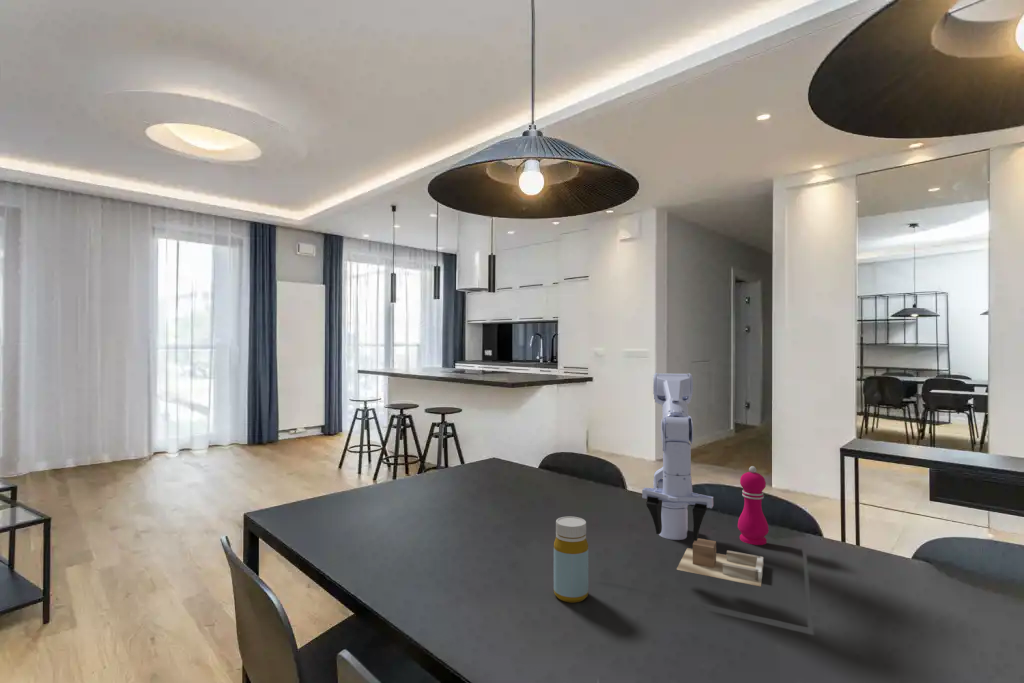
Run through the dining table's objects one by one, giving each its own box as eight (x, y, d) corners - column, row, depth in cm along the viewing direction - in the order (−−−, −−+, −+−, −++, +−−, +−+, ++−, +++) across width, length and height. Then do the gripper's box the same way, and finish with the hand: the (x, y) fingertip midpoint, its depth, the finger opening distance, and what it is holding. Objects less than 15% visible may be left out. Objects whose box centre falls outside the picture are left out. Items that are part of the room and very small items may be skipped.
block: (695, 556, 121) (695, 537, 121) (716, 560, 119) (716, 541, 119) (692, 563, 117) (692, 544, 117) (713, 568, 115) (713, 547, 115)
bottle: (584, 586, 108) (584, 515, 108) (591, 603, 101) (591, 527, 101) (551, 587, 107) (552, 515, 108) (555, 604, 100) (556, 527, 101)
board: (687, 551, 126) (687, 539, 126) (763, 566, 118) (763, 553, 118) (676, 573, 114) (676, 560, 114) (760, 591, 106) (760, 576, 106)
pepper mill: (772, 550, 127) (772, 470, 127) (741, 548, 129) (741, 468, 129) (764, 540, 134) (763, 463, 134) (734, 537, 136) (734, 462, 136)
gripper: (638, 472, 110) (638, 535, 110) (709, 481, 103) (709, 548, 103) (646, 465, 116) (646, 525, 116) (714, 473, 109) (714, 537, 109)
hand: (676, 535), depth 110 cm, fingers open, 7 cm apart
